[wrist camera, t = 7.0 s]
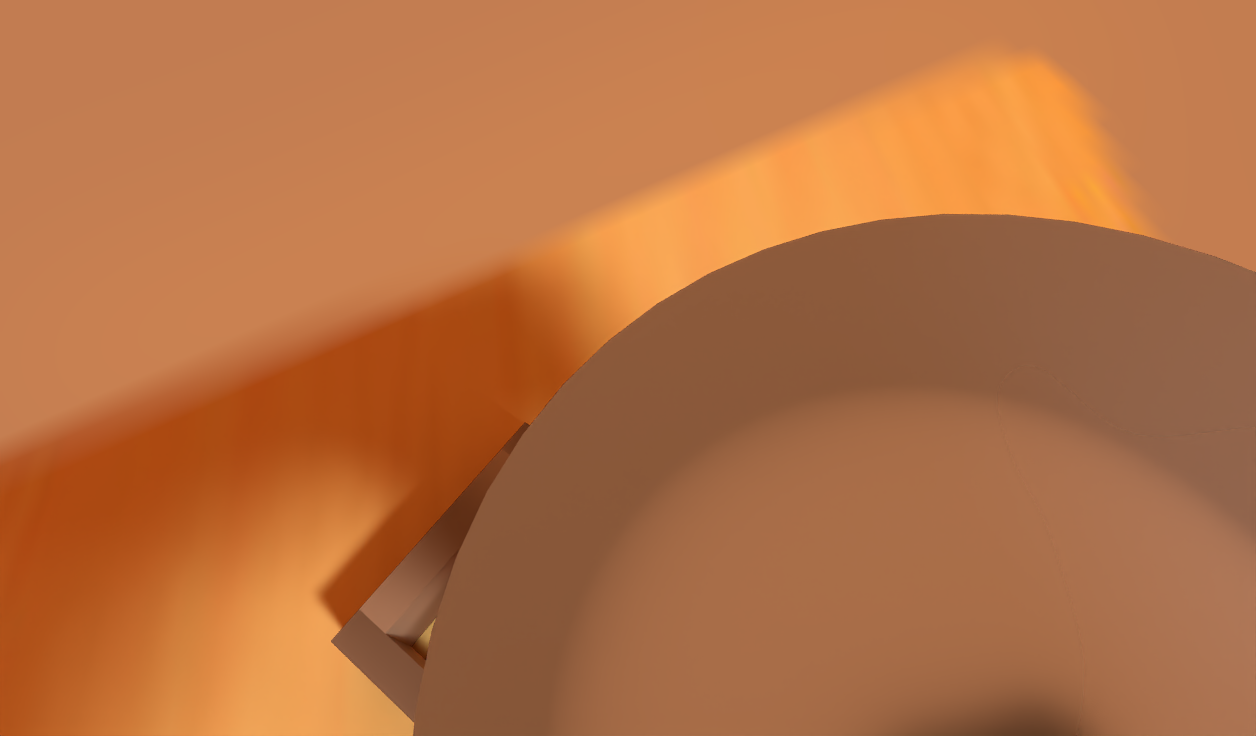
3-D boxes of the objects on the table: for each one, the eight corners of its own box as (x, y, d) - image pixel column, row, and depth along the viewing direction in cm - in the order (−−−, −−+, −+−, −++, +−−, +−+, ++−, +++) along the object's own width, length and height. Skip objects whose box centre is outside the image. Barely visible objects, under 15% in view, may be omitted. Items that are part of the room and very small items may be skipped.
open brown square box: (566, 851, 20) (551, 856, 18) (360, 653, 22) (330, 641, 20) (743, 600, 22) (745, 582, 20) (538, 449, 25) (524, 422, 23)
